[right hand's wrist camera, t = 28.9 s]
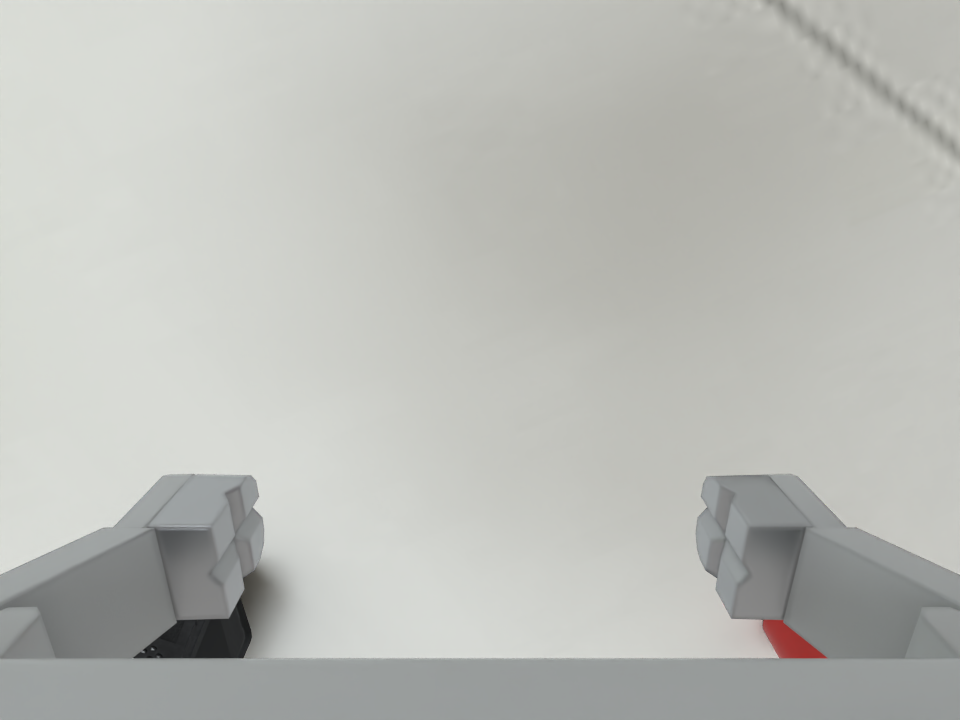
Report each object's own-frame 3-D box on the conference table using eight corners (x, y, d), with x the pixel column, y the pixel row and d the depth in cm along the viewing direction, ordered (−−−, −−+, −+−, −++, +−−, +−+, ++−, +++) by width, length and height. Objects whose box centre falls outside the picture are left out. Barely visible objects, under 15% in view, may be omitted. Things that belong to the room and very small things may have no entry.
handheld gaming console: (96, 532, 35) (120, 680, 29) (221, 505, 40) (266, 628, 33) (101, 644, 41) (122, 789, 34) (210, 609, 45) (247, 732, 39)
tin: (760, 607, 39) (792, 663, 35) (812, 597, 39) (852, 652, 35) (764, 644, 40) (796, 703, 36) (815, 635, 40) (854, 693, 36)
